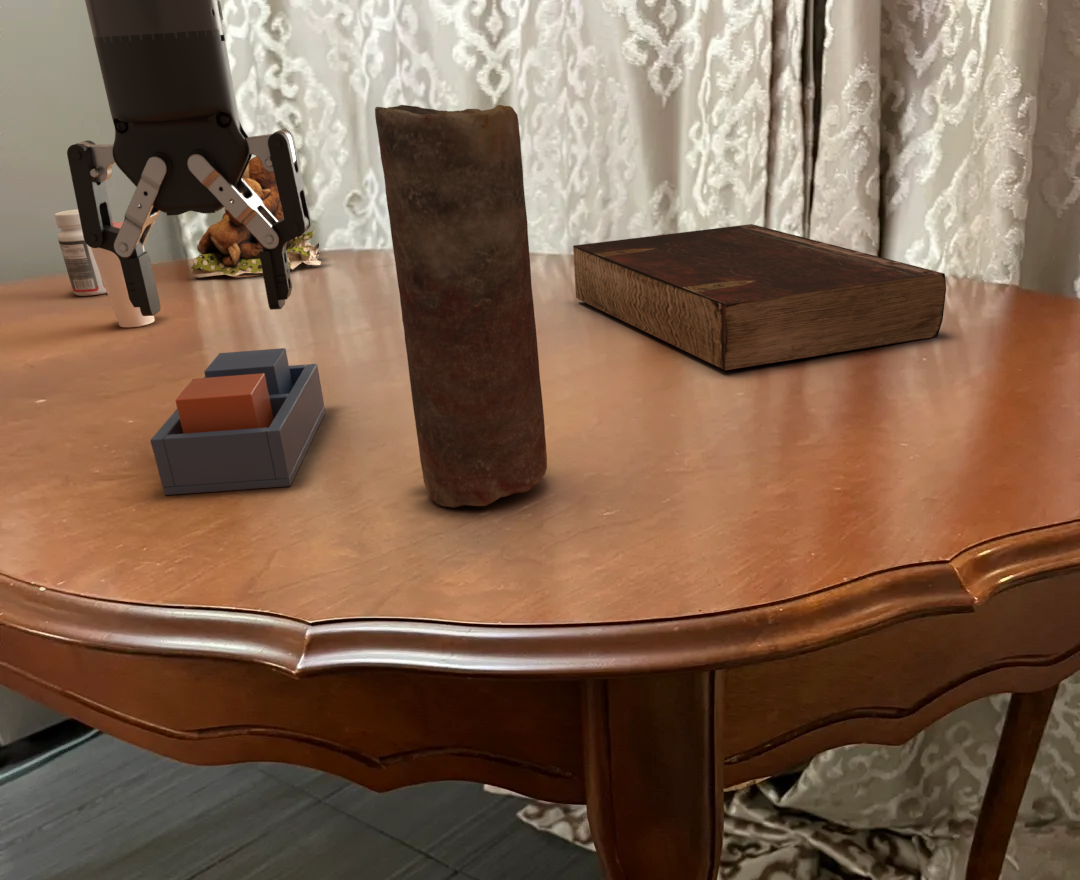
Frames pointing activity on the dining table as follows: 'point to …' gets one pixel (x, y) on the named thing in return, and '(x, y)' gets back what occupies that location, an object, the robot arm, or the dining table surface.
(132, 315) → the cup
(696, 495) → the dining table surface
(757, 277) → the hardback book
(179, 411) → the terracotta block
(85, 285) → the pill bottle
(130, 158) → the robot arm
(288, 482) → the tray
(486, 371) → the brown tall block
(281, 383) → the blue block
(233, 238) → the bear figurine
